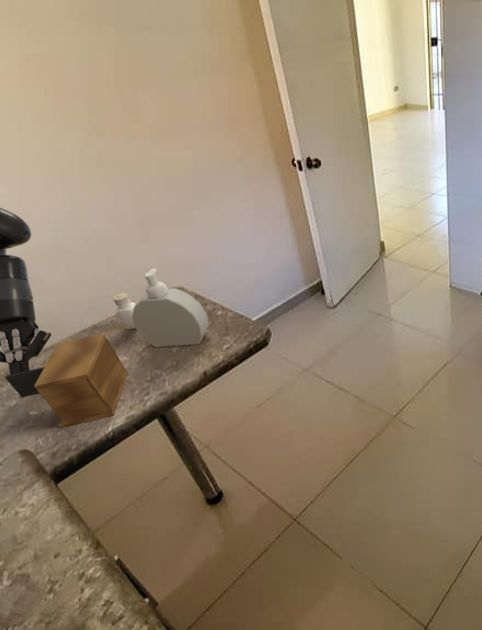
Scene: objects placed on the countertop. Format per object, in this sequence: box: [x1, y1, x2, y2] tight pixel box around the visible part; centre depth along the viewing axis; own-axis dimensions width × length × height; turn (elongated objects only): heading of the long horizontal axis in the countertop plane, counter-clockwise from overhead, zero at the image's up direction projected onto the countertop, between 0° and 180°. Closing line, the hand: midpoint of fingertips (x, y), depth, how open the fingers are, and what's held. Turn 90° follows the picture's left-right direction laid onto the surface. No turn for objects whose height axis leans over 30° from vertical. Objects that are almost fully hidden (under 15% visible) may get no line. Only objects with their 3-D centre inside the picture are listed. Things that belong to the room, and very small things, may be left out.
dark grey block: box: [4, 366, 45, 398], centre depth 92 cm, size 10×7×9 cm
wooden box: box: [34, 333, 128, 429], centre depth 94 cm, size 10×14×12 cm
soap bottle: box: [132, 267, 210, 348], centre depth 107 cm, size 16×5×20 cm, turn 93°
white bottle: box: [112, 292, 137, 330], centre depth 117 cm, size 4×4×10 cm
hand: (21, 379), depth 93 cm, fingers closed
